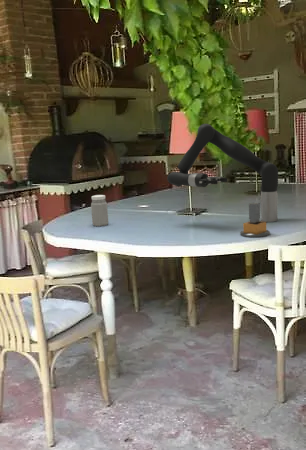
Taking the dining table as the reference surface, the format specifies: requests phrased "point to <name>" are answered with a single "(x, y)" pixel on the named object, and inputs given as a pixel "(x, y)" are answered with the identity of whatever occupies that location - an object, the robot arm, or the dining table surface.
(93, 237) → the dining table surface
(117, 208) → the dining table surface
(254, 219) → the grey tall block
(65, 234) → the dining table surface
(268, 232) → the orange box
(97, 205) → the jar
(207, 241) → the dining table surface
